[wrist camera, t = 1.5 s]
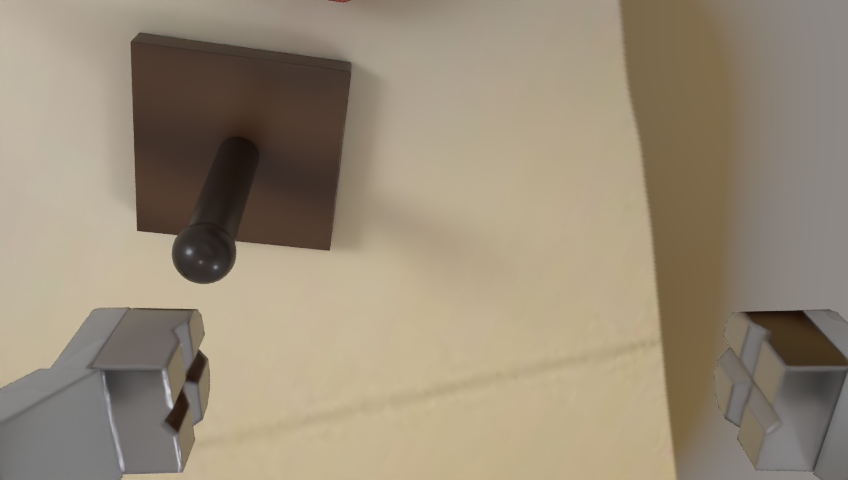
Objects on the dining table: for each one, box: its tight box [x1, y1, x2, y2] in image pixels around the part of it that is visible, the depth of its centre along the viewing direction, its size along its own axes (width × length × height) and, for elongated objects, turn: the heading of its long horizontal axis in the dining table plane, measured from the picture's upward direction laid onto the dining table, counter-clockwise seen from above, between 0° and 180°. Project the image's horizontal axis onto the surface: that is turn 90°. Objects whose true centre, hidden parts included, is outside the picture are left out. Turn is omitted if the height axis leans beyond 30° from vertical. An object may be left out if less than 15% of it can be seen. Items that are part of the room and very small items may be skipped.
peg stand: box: [131, 33, 351, 284], centre depth 33 cm, size 10×10×12 cm
